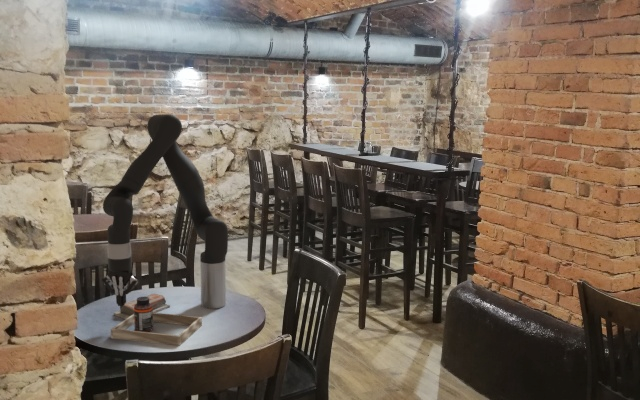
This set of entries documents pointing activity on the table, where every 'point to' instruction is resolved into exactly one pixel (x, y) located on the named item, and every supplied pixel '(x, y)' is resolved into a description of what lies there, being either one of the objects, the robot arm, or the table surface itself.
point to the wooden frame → (124, 334)
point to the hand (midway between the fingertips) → (121, 305)
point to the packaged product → (128, 308)
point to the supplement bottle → (143, 315)
